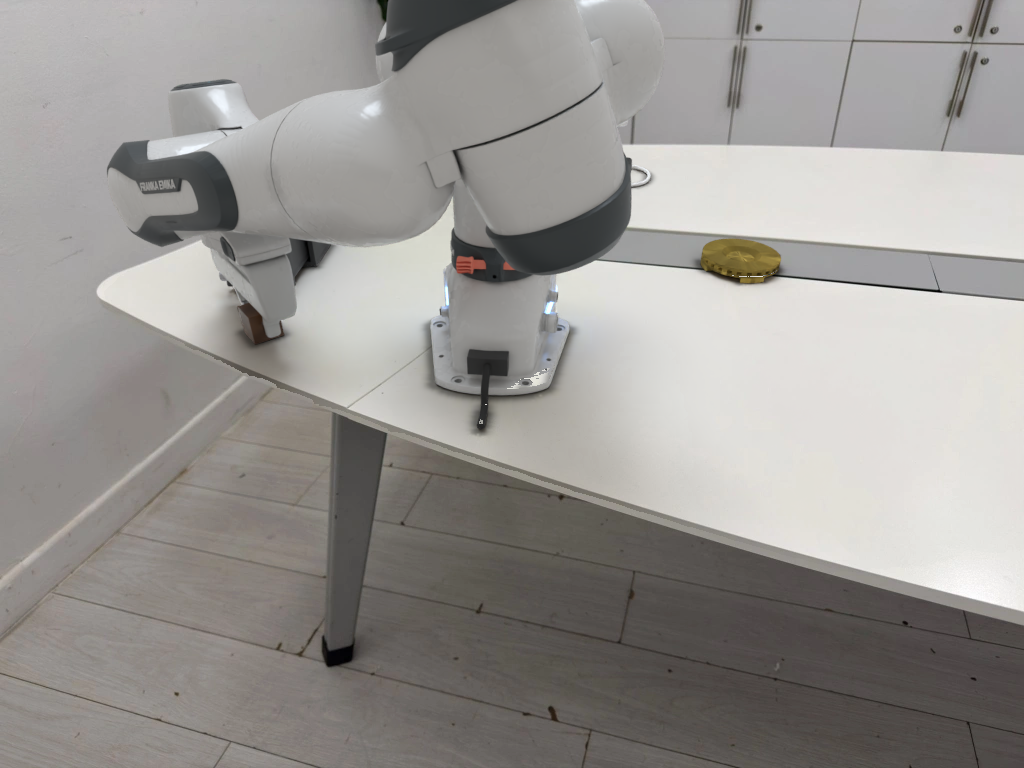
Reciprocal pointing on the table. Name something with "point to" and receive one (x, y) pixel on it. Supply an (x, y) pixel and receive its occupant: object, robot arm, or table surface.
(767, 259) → the compass
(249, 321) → the block
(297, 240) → the drawer
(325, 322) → the table surface
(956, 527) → the table surface
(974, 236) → the table surface
